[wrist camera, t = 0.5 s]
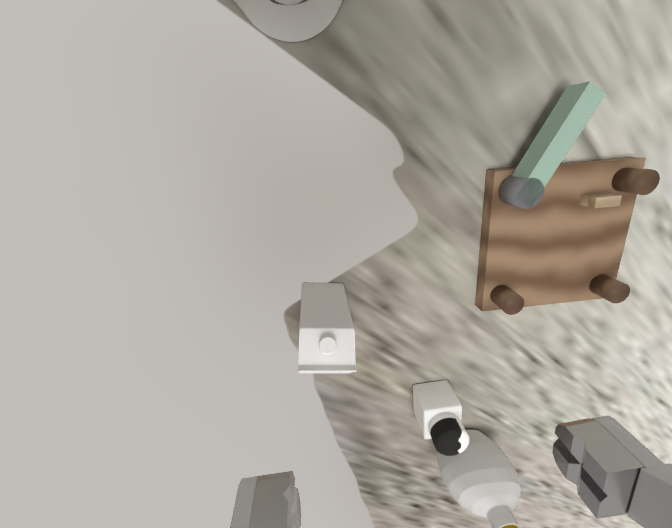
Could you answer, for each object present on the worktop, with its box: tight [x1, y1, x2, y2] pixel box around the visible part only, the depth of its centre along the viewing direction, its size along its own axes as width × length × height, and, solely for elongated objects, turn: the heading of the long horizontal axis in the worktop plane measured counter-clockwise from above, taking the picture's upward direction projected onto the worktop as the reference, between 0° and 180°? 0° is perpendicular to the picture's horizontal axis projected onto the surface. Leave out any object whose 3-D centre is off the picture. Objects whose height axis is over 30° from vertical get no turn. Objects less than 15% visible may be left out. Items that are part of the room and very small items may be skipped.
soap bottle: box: [438, 430, 521, 528], centre depth 60 cm, size 14×9×26 cm, turn 93°
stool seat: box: [475, 157, 660, 315], centre depth 53 cm, size 24×24×6 cm
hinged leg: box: [499, 82, 607, 209], centre depth 47 cm, size 17×4×4 cm, turn 154°
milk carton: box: [298, 282, 356, 373], centre depth 49 cm, size 7×7×19 cm
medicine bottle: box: [413, 380, 469, 456], centre depth 61 cm, size 7×7×12 cm
